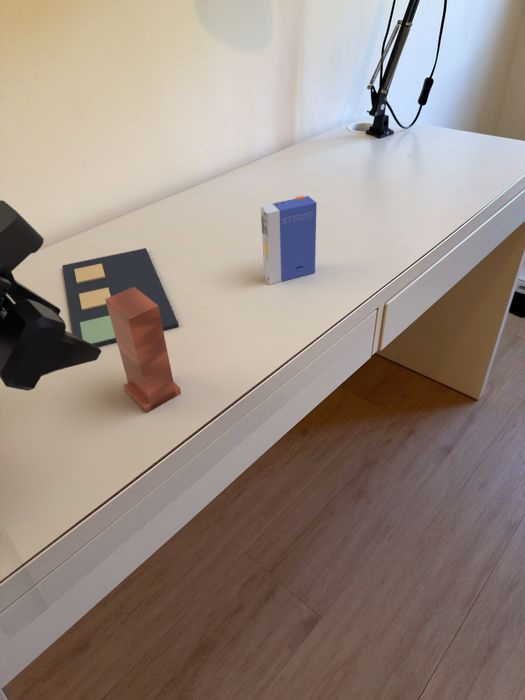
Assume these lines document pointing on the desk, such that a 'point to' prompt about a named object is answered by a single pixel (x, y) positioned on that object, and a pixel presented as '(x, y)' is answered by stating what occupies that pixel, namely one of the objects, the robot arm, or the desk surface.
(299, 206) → the walkman
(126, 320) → the reddish brown square pillar
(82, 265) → the dark blue mat
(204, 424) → the desk surface
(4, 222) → the robot arm
